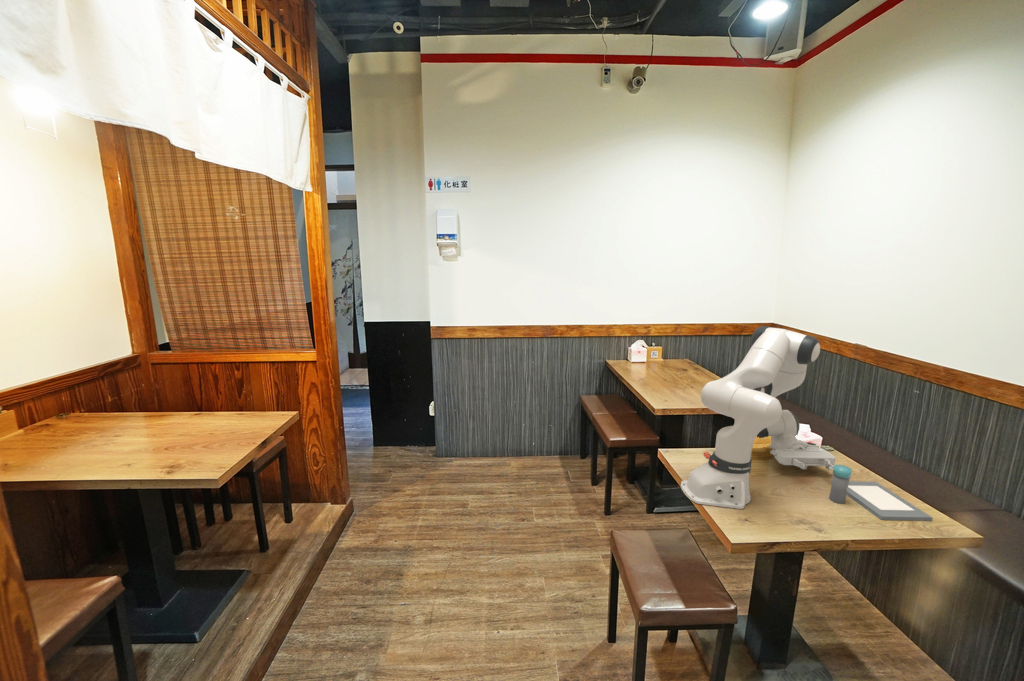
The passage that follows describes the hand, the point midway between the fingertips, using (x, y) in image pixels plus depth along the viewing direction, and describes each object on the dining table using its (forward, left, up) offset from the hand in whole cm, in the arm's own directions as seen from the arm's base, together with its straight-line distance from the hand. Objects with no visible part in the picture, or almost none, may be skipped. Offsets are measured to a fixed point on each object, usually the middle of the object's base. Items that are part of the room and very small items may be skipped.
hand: (818, 467), depth 157 cm
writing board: (+14, -11, -6) cm, 19 cm away
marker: (0, -11, -7) cm, 13 cm away
